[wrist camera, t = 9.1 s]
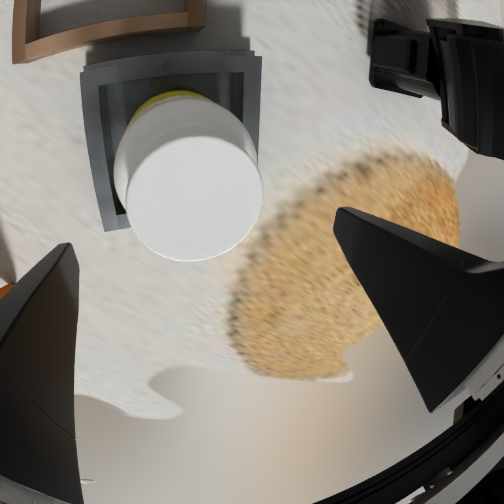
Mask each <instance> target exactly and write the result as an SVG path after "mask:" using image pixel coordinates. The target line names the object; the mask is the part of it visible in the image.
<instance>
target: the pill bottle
mask: <svg viewBox="0 0 504 504" xmlns="http://www.w3.org/2000/svg"><path fill="white" fill-rule="evenodd" d="M114 183H115V188H116V192H117V194H118V197H119V199H120V201H121V203H122V205H123V207H124V208H125V210H126V213H127V217H128V220H129V223H130V226H131V228H132V229H133V231H134V233H135V235H136V236H137V237H138V239H139V240H140V241H141V242H142V243H143V244H144V245H145V246H147V247H148V248H149V249H150V250H152V251H153V252H155V253H157V254H159V255H161V256H163V257H166V258H169V259H173V260H178V261H200V260H205V259H210V258H213V257H216V256H218V255H220V254H222V253H225V252H226V251H228V250H230V249H232V248H233V247H234V246H236V245H237V244H238V243H239V242H240V241H241V240H242V239H243V238H244V237H245V236H246V235H247V234H248V233H249V232H250V230H251V229H252V227H253V226H254V224H255V222H256V220H257V218H258V216H259V213H260V210H261V207H262V202H263V184H262V179H261V175H260V172H259V170H258V167H257V153H256V150H255V146H254V143H253V141H252V138H251V136H250V134H249V132H248V131H247V129H246V128H245V126H244V125H243V124H242V123H241V122H240V121H239V119H238V118H237V117H235V116H234V115H233V114H232V113H231V112H229V111H228V110H226V109H225V108H223V107H222V106H220V105H218V104H217V103H215V102H213V101H211V100H210V99H208V98H206V97H205V96H203V95H201V94H199V93H196V92H194V91H190V90H184V89H172V90H166V91H163V92H160V93H157V94H155V95H153V96H152V97H150V98H149V99H147V100H146V101H145V102H144V103H143V104H142V105H141V106H140V107H139V108H138V109H137V111H136V112H135V113H134V115H133V117H132V119H131V120H130V122H129V124H128V126H127V128H126V130H125V133H124V135H123V137H122V139H121V141H120V143H119V146H118V149H117V152H116V157H115V162H114Z"/></svg>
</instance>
